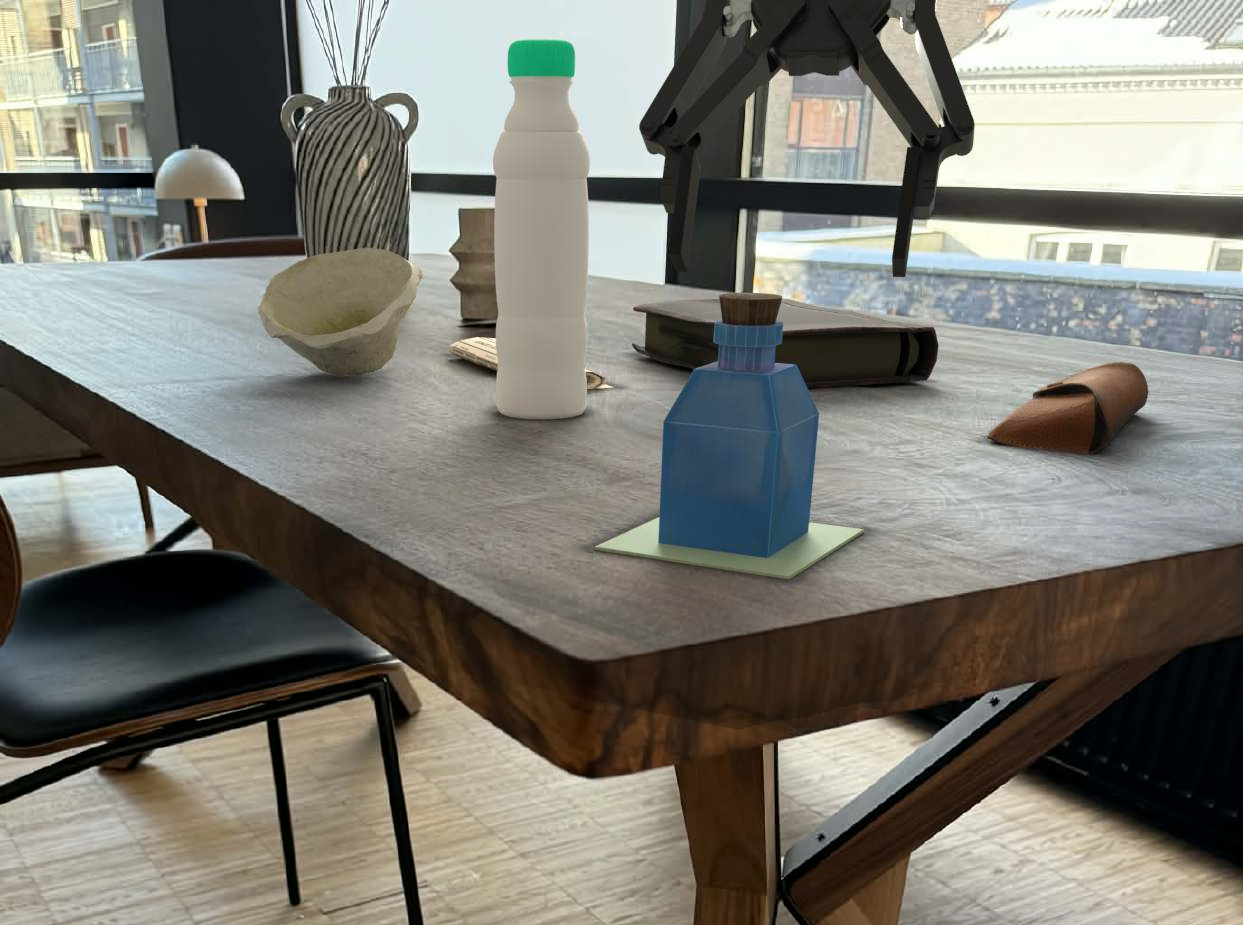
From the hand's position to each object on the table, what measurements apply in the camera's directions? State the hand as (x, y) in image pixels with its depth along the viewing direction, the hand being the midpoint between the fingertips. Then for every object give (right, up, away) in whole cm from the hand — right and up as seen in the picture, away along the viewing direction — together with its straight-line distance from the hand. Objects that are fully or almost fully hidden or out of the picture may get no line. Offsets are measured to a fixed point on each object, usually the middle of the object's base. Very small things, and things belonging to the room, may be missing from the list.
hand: (786, 266), depth 88 cm
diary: (+6, +11, +46) cm, 47 cm away
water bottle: (-15, -1, +24) cm, 28 cm away
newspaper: (-17, +10, +43) cm, 47 cm away
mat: (-5, -20, -11) cm, 23 cm away
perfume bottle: (-5, -20, -11) cm, 23 cm away
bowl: (-33, +9, +42) cm, 54 cm away
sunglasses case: (+24, -4, +19) cm, 31 cm away
